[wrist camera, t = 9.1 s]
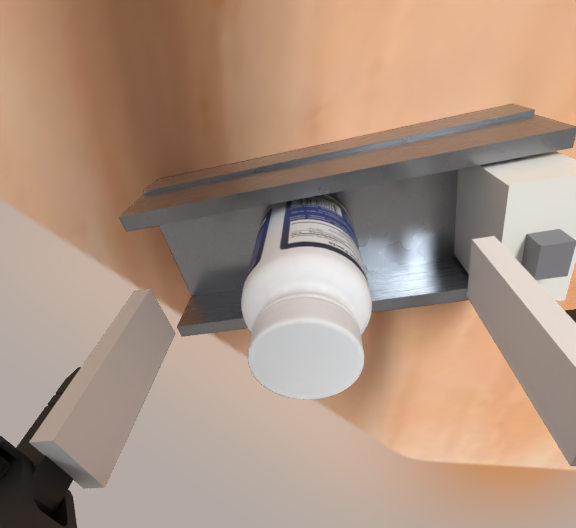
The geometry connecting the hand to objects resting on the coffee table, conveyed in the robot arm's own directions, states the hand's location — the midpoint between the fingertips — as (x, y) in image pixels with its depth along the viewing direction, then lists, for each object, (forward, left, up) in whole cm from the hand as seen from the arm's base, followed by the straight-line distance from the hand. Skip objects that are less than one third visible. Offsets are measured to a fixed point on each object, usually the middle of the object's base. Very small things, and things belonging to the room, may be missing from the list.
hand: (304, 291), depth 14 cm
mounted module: (0, +10, -6) cm, 12 cm away
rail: (0, +1, -8) cm, 8 cm away
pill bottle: (0, 0, -6) cm, 7 cm away
